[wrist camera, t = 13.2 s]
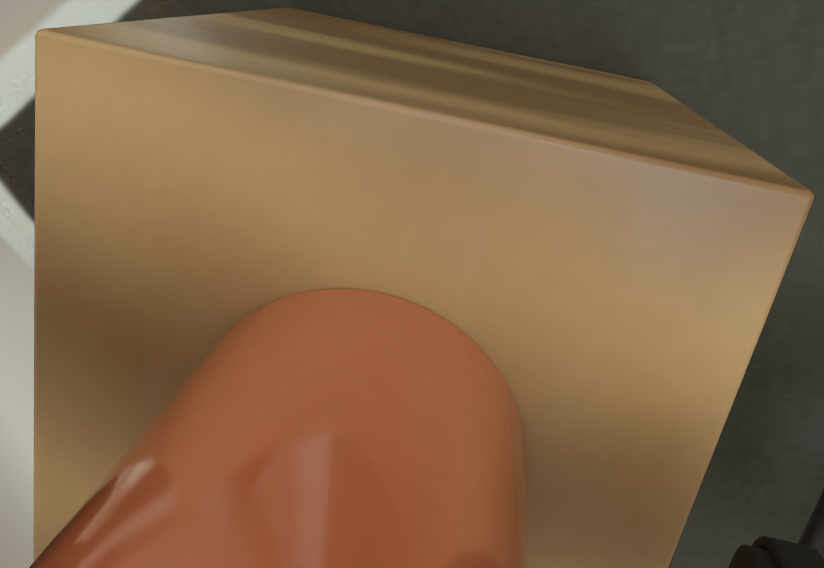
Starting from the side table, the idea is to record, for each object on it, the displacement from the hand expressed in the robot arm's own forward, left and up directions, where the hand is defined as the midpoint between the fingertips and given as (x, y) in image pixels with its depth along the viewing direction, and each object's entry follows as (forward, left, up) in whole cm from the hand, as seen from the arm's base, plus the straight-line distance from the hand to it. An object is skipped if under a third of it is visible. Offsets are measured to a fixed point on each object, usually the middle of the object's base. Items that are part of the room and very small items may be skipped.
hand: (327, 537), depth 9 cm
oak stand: (0, 0, -14) cm, 14 cm away
